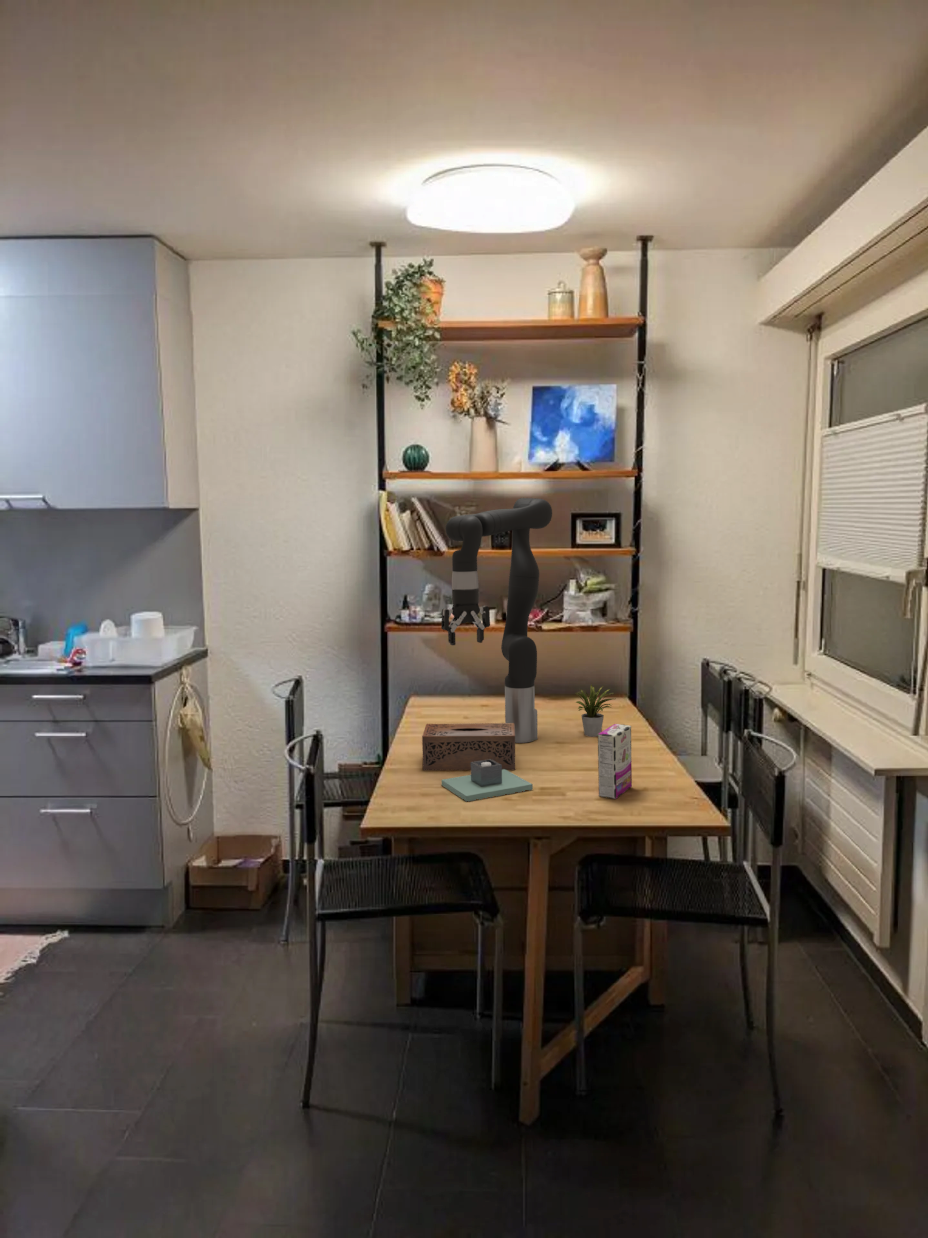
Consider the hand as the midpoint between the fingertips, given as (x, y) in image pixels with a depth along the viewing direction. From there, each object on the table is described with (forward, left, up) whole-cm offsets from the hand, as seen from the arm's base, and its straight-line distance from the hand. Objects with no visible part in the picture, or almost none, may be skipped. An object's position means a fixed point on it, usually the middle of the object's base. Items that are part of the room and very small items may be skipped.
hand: (466, 643), depth 249 cm
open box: (+7, +25, -33) cm, 42 cm away
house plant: (-46, -5, -34) cm, 58 cm away
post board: (+7, +25, -34) cm, 43 cm away
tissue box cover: (+1, +3, -35) cm, 35 cm away
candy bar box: (-20, +44, -34) cm, 59 cm away
